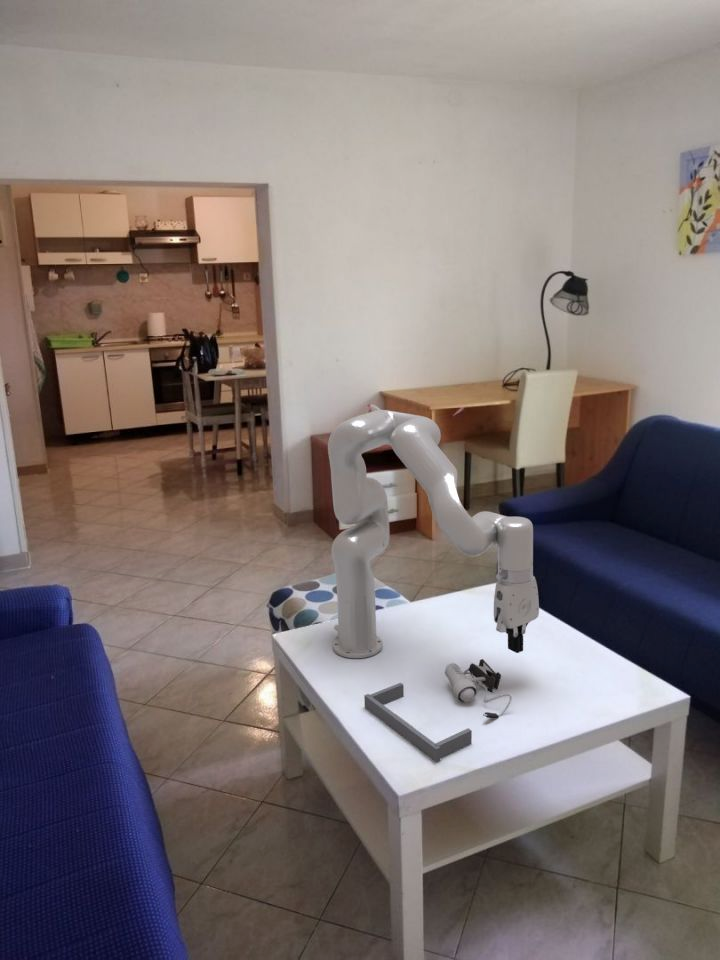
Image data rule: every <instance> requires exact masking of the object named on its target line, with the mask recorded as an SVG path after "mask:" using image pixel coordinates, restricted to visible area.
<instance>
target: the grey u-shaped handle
mask: <svg viewBox="0 0 720 960" xmlns="http://www.w3.org/2000/svg"><path fill="white" fill-rule="evenodd" d="M404 692H405V691H404V683H402V682H399V683H396V684H392V685H391V686H388V687H386V688H383V689H380V690H378V691H376V692H373V693H371V694H369V693H367V694H364V695H363V696H364V708H365V709H366V710H367V711H369V713H371V714H372V715H373V716H374V717H376V718H377V719H379V720H380V721H382V723H384V724H385V725H386V726H387V727H389V728H391V730H393V731H394V732H396V733H397V734H398V735H399V736H401V737H402V738H403V739H405V740H406V741H407V742H408V743H409V744H411V745H412V746H414V747H415V748H416V749H418V750H419V751H420V752H421V753H423V754H424V755H426V756H427V757H428V759H431V760H432V761H433V762H435V764H437V763H439V762H441V759H443V758H446V757H448V756H450V755H451V754H454V753H456V752H457V751H460V750H462V749H463V748H466V747H467V746H470V745H472V734H473V733H472V730H471V729H470V728H465V729H463V730H461V731H459V732H457V733H455V734H453V735H451V736H448V737H446V738H444V739H442V740H439V741H437V742H435V741H433V740H431V739H430V738H428V737H427V736H425V734H423V733H422V732H421V731H419V730H417V729H416V728H415V727H414V726H413V725H411V724H410V723H409V721H406V720H405V719H404V718H402V717H401V716H399V715H398V714H397V713H395V712H393V711H392V710H391V709H389V708H388V707H386V704H389V703H391V702H394V701H396V700H399V699H401V698H403V697H404V695H405V694H404Z"/></svg>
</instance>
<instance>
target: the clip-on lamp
mask: <svg viewBox="0 0 720 960" xmlns="http://www.w3.org/2000/svg"><path fill="white" fill-rule="evenodd" d="M444 674H445V676H446V677H447V680H448V681H449V683H450V685H451V686H452V688H453V689H452V693H453V695H454V698H455V699H456V700H457V701H458V702H459V703H462V704H465V703H470V702H472V701H473V700H474V699H475V698H476V696H477V693H478V688H477V687H476V686H477V685H478V686H480V687H483V689H485V690H484V691H485V694H484V698H483V703H489V702H492V701H494V700H497V699H499V698H501V697H504V696H505V697H506V696H509V701H508V703H507V704H506V706H505V707H504V709H503V710H502V711H501V712H499V714H497V713H496V712H487V711H486V712H484V713H482V716H483V717H486V718H487V719H496V720H497V719H499V717H501V716H503V715H504V713H505V712H506V710H507V709H508V708H509V706H510V705H511V701H512V699H513V698H512V695H511V694H510V693H507V692H506V693H502V694H498V695H497V696H494V697H493V696H492V697H491V698H488V699H486V697H487V695H488V692H489V693H493V690H499V686H500V682H501V678H502V674H501V673H500V672H499V671H498V672H495V670H494V669H493V668H492V667H491V666H490V665H489V664H488V663H487V662H486V661H485V660H484V659H483V658H481V659H479V663H478V665H477V664H475V663H474V662H472V663H470V665H469V667H468V668H467V669H465V670H464V671H463V670H462V669H461V667H460V666H459V664H457V663H455V662H454V663H453V662H451V663H449V664H447V665H446V667H445V669H444ZM467 675H470V676H471V678H470V677H469V678H467V677H466V676H467ZM475 683H476V684H477V685H476V684H475Z"/></svg>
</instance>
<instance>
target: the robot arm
mask: <svg viewBox="0 0 720 960" xmlns="http://www.w3.org/2000/svg"><path fill="white" fill-rule="evenodd" d="M441 436H442V433H441V430H440V427H439V426H438V424H437V423H436V422H435V421H434V420H433V419H431V418H429V417H426V416H423V415H419V414H418V415H417V414H412V413H405V412H400V411H394V410H389V409H384V410H383V409H379V410H373V411H371V412H367V413H364V414H360V415H356V416H354V417H352V418H349V419H347V420H345V421H343V422H341V423H340V424H339V425H337V426H336V427H335V428H333V430H332V431H331V433H330V435H329V439H328V441H327V453H328V459H329V467H330V479H331V492H332V504H333V512H334V515H335V518H336V519H337V520H338V521H339V522H340V523H342V524H343V525H346V526H349V525H352V526H350V527H348V528H346V529H344V530H343V531H341V532H340V533H339V534H338V535H337V536H336V537H335V538H334V540H333V542H332V545H331V558H332V561H333V562H332V563H333V566H334V573H335V580H336V597H337V599H336V600H337V602H336V603H337V623H338V624H335V625H334V627H333V629H334V630H335V631H337V637H336V638H335V639H334V641H333V642H332V649H333V651H334V652H335V653H336V654H337V655H338V656H341V657H344V658H347V659H365V658H369V657H373V656H375V655H377V654H378V653H380V652H381V650H382V649H383V643H384V642H383V640H382V639H381V637H379V636H378V635H377V615H376V614H377V613H376V611H377V610H376V609H377V608H376V586H375V584H376V583H375V582H376V581H375V576H374V573H373V570H372V568H371V561H372V560H373V559H374V558H376V557H377V556H378V555H380V554H381V553H383V552H384V551H385V549H387V547H388V545H389V543H390V542H389V541H390V520H389V505H388V496H387V493H386V490H385V488H384V486H383V485H382V484H381V482H379V481H378V480H377V479H375V478H373V477H368V476H367V468H366V467H367V466H366V463H365V460H364V458H363V456H362V454H364V453H366V452H369V451H372V450H374V449H377V448H380V447H382V446H384V445H385V446H387V445H388V446H391V448H392V449H391V450H393V452H394V453H395V455H396V456H397V457H398V459H400V461H401V462H402V463H403V465H404V466H405V467H406V469H407V470H408V471H409V473H410V474H411V475H412V476H413V478H414V479H415V480H416V482H418V484H419V485H420V486H421V488H422V489H423V490H424V491H425V493H426V496H427V499H428V503H429V507H430V509H431V512H432V514H433V517H434V519H435V520H434V521H435V522H436V524H437V526H438V527H439V529H440V531H441V532H442V533H443V534H444V536H445V537H446V538H447V539H448V540H449V542H451V544H452V545H453V546H454V547H455V549H457V551H459V552H460V553H462V554H463V555H466V556H468V557H478V556H480V555H482V554H483V553H485V552H486V551H488V549H489V548H491V547H492V546H497V574H496V575H495V578H496V583H495V587H494V589H495V590H494V595H493V597H494V598H493V621H494V622H495V624H496V627H495V630H496V632H498V633H501V634H502V633H505V634H507V649H508V650H509V651H512V652H514V653H516V654H520V653H521V652H524V635H525V633H526V630H527V627H528V625H529V624H530V623H531V622H532V621H535V620H536V619H537V618H538V617H539V615H540V603H539V602H540V601H539V591H538V583H537V579H536V577H535V576H534V566H533V565H534V525H533V523H532V521H531V520H530V519H529V518H527V517H524V516H507V515H503V514H499V513H495V512H492V511H487V510H484V511H479V512H477V513H476V514H474V515H473V516H471V515H470V514H469V513H468V511H467V510H466V509H465V508H464V506H463V504H462V502H461V500H460V497H459V495H458V487H457V485H458V470H457V467H455V465H454V464H453V463H452V462H451V461H450V460H449V458H448V457H447V456H446V454H445V453H444V452H443V451H442V450H441V448H440V446H438V445H439V444H440V441H441V438H442V437H441Z"/></svg>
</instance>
